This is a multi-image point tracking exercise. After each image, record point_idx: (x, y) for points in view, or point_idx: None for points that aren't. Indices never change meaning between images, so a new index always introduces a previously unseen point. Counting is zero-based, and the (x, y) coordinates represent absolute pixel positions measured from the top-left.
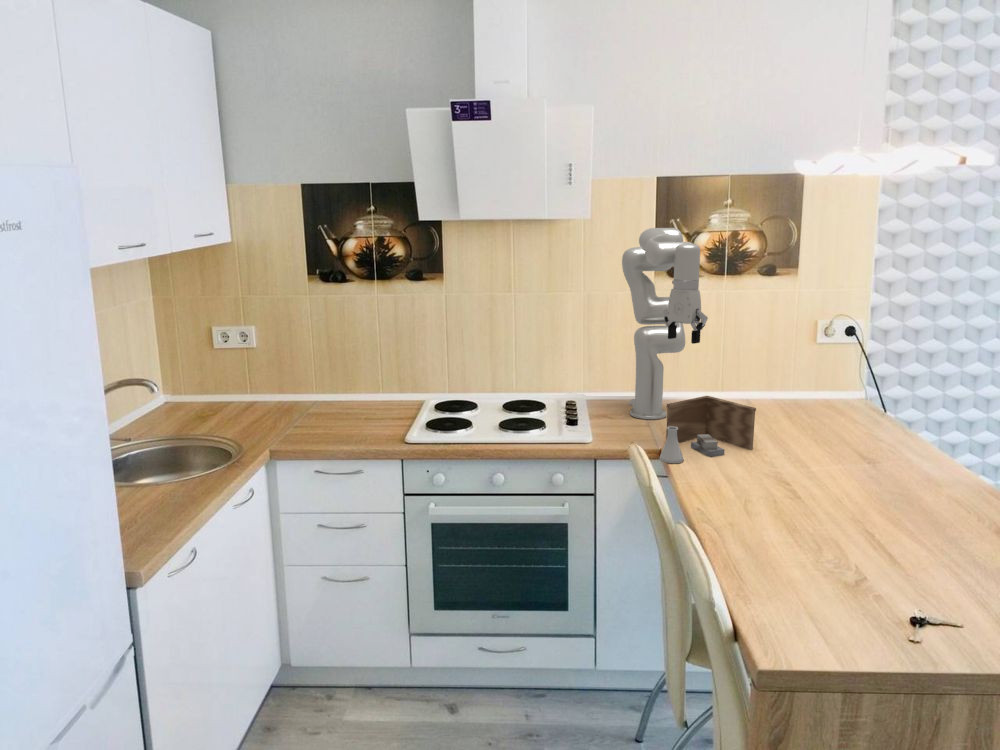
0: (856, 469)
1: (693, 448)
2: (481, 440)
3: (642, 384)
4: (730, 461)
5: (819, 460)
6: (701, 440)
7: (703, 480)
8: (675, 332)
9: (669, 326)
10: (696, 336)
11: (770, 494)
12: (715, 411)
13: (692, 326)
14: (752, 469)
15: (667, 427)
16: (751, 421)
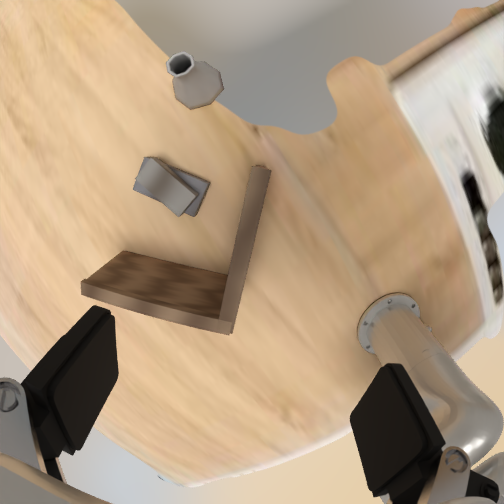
0: (12, 263)
1: (201, 179)
2: (487, 36)
3: (424, 339)
4: (112, 162)
5: (44, 269)
6: (173, 175)
7: (106, 50)
8: (364, 443)
9: (433, 446)
10: (47, 353)
11: (29, 89)
12: (196, 298)
13: (24, 436)
14: (72, 154)
15: (191, 56)
16: (97, 272)
